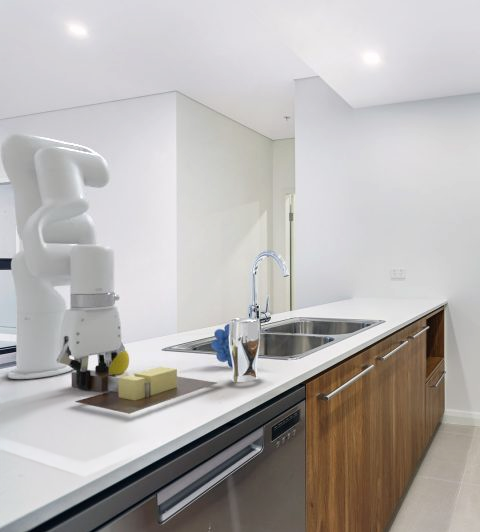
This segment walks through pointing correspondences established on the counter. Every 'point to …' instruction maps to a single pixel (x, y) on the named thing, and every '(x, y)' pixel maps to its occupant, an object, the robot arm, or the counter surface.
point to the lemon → (119, 363)
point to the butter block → (159, 379)
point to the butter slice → (131, 387)
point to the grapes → (222, 345)
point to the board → (130, 406)
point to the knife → (104, 382)
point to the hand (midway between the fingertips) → (92, 385)
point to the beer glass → (244, 348)
